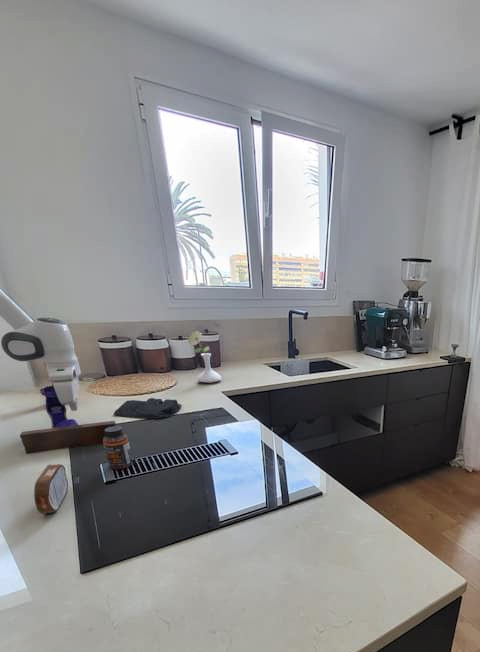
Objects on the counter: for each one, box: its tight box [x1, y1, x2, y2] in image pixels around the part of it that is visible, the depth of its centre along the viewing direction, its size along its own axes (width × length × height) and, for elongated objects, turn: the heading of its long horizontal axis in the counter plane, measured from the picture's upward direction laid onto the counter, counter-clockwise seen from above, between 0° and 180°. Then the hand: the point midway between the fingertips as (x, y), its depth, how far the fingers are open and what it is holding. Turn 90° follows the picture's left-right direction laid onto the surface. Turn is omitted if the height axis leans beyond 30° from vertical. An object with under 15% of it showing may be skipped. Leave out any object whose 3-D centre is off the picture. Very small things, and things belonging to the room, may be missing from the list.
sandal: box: [39, 385, 79, 428], centre depth 128 cm, size 8×20×15 cm, turn 39°
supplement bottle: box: [102, 425, 134, 470], centre depth 109 cm, size 6×6×11 cm
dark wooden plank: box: [19, 420, 117, 455], centre depth 122 cm, size 24×3×6 cm, turn 118°
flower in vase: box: [187, 330, 222, 384], centre depth 191 cm, size 13×11×25 cm
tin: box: [33, 463, 69, 515], centre depth 91 cm, size 15×3×8 cm, turn 22°
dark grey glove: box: [113, 397, 183, 420], centre depth 153 cm, size 15×22×5 cm
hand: (74, 409), depth 135 cm, fingers closed
